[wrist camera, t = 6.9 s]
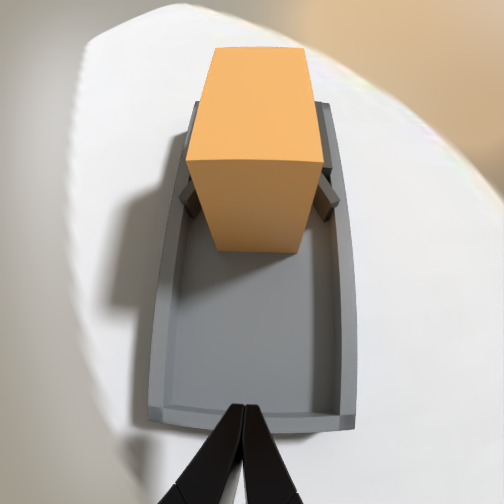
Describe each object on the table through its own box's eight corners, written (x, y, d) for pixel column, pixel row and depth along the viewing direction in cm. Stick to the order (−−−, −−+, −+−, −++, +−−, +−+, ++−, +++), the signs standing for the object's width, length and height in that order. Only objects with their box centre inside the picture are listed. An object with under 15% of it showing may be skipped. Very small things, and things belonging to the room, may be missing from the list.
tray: (341, 420, 14) (359, 432, 11) (163, 412, 14) (142, 422, 11) (324, 126, 21) (330, 96, 18) (200, 124, 22) (193, 94, 19)
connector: (297, 253, 16) (323, 161, 9) (217, 251, 17) (185, 160, 9) (291, 122, 20) (299, 31, 13) (231, 121, 20) (221, 30, 13)
